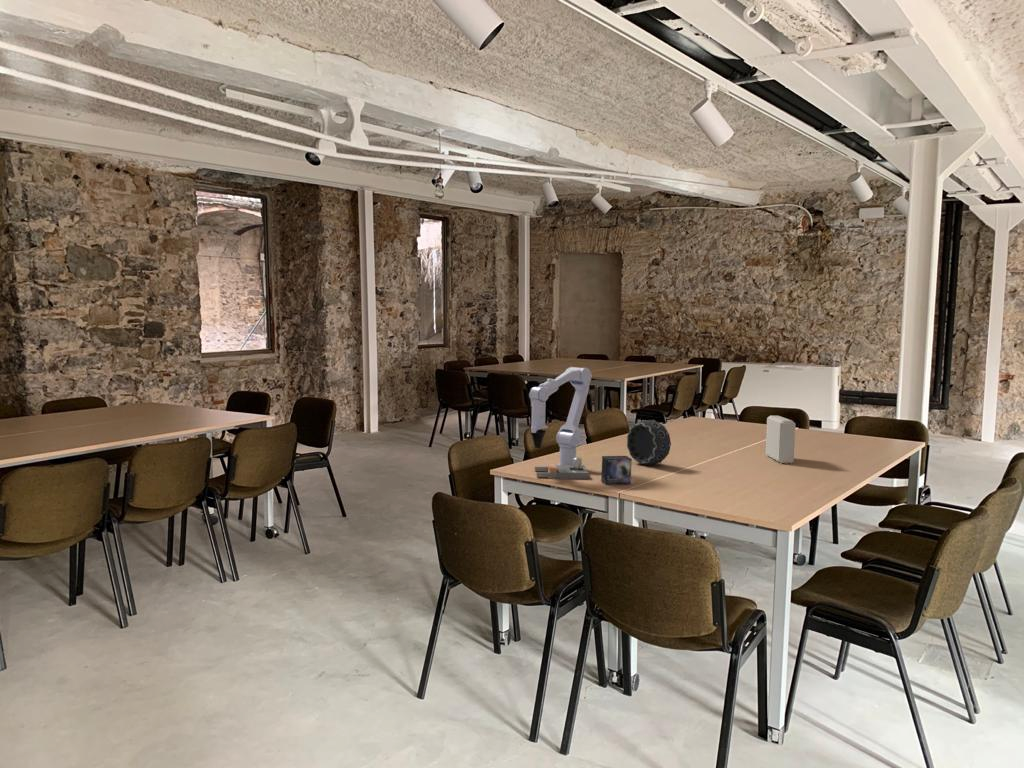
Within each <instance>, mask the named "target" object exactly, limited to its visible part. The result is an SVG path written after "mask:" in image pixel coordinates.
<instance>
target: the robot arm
mask: <svg viewBox="0 0 1024 768" xmlns="http://www.w3.org/2000/svg"><path fill="white" fill-rule="evenodd" d="M592 377H593V374H592V372H591V370H590V369H589V368H588V367H576V366H569V367H568V368H565V371H564V372H563V373H561V374H560V375H558V376H557V377H556V378H555V379H554V378H547V379H546V381H545V382H543V383H540V384H539V385H538V386H533V387H532V388H531V389H530V391H529V393H528V397H529V399H530V403H531V426H530V434H531V436H532V439H533V444H534V448H535V449H540V448H542V443H543V439H544V436H545V435H546V433H547V432H546V429H548V428H549V426H548V425H546V403H547V402H546V401H548V399H549V398H550V397H549V396H551V395H552V394H554V393H555V392H557V391H558V390H559V387H560V386H562V385H564V384H565V383H568V382H570V384H571V386H573V388H574V390H575V391H574V395H573V397H572V402H571V405H570V408H569V412H568V415H567V419H566V422H565V424H562V425H561V426H560V428H559V431H558V432H557V433H556V435H555V437H556V438H555V441H556V443H557V444H558V447H559V462H558V463H557V465H573V458H577V448H578V446H579V445H580V443H581V435H582V431H581V429H580V428H579V424H580V421H581V417H582V414H583V411H584V408H585V407H584V406H585V404H586V401H587V396H588V395H589V394H588V393H589V391H590V383H591V380H592Z"/></svg>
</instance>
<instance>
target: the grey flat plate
mask: <svg viewBox="0 0 1024 768" xmlns="http://www.w3.org/2000/svg"><path fill="white" fill-rule="evenodd" d="M556 467H557V473H548V472H536V475H535V476H536V478H537V477H552V478H551V479H559V478H560V480H589V475H590V472H589V471H588V469H587V468H586V466H585V465H584V464H583V465H582V470H573V465H558V464H556ZM535 471H548V466H534V472H535Z"/></svg>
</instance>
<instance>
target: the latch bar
mask: <svg viewBox="0 0 1024 768" xmlns="http://www.w3.org/2000/svg"><path fill="white" fill-rule="evenodd" d="M556 465H557V464H556V463H548V464H547V467H548V472H547V473H557V467H556Z"/></svg>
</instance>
